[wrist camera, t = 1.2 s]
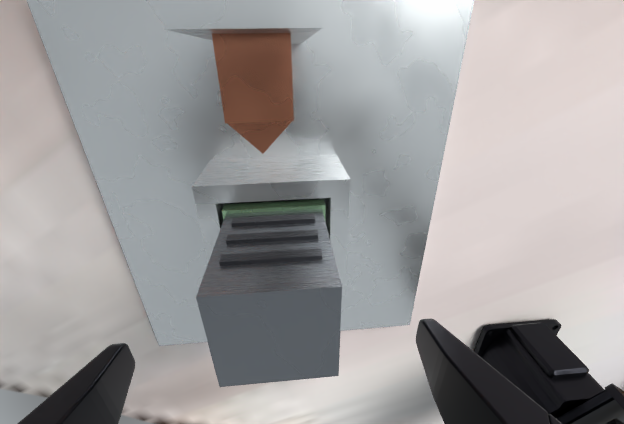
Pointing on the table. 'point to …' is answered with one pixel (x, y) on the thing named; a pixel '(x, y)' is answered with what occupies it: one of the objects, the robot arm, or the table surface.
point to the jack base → (314, 157)
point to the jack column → (272, 294)
